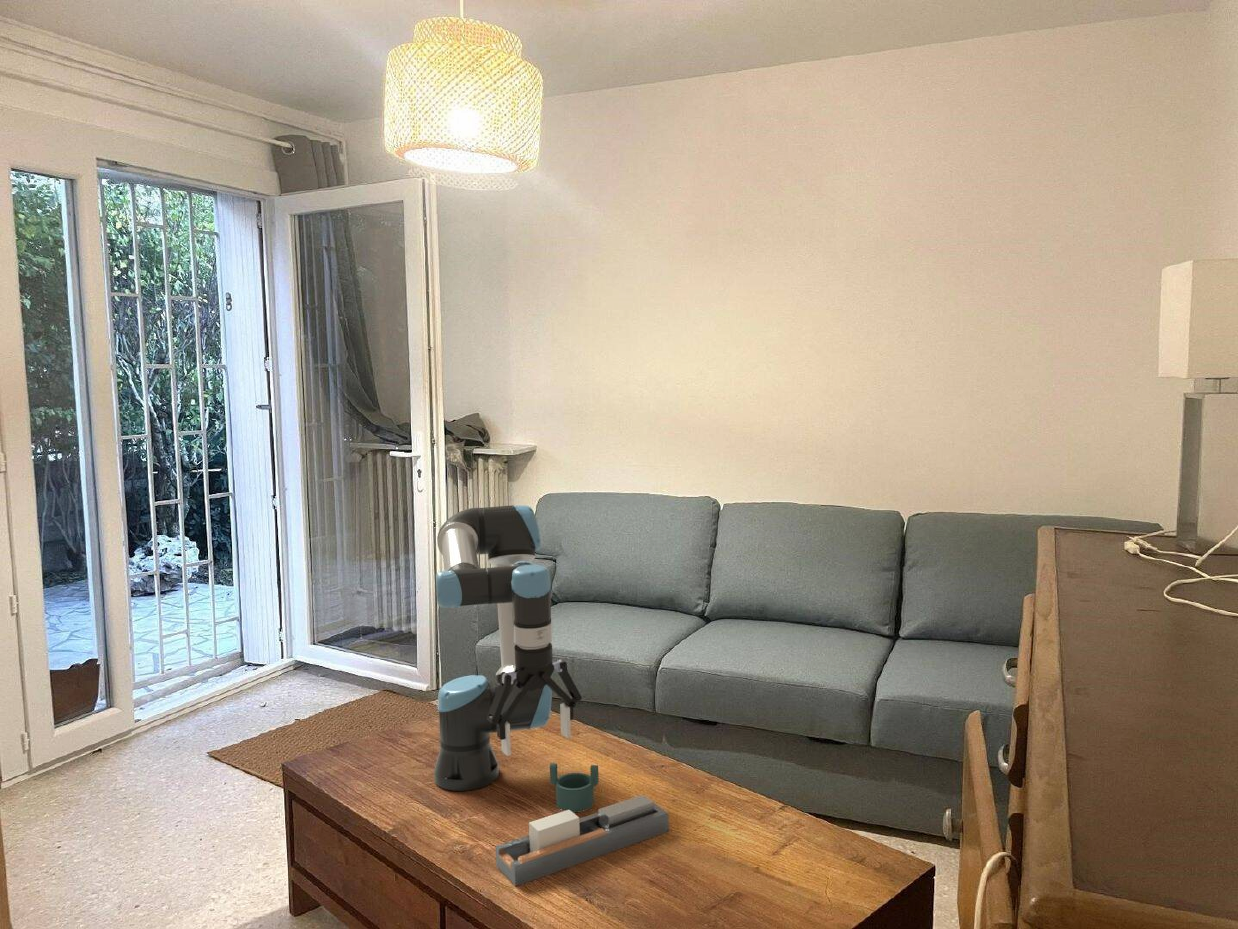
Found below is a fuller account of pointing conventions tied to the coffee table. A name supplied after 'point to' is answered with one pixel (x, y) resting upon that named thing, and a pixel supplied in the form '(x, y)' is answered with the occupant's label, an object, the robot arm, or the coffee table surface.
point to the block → (553, 830)
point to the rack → (584, 840)
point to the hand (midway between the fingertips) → (536, 744)
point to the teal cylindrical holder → (574, 788)
